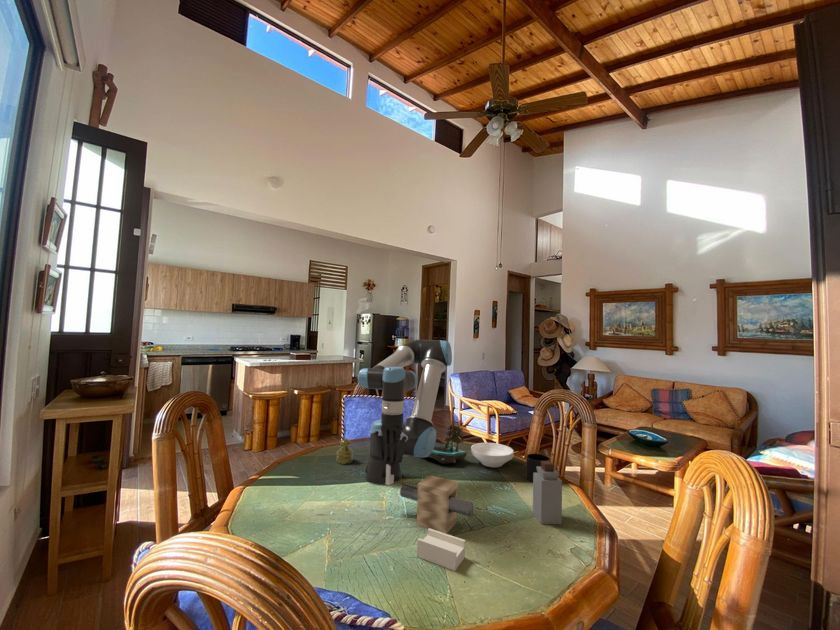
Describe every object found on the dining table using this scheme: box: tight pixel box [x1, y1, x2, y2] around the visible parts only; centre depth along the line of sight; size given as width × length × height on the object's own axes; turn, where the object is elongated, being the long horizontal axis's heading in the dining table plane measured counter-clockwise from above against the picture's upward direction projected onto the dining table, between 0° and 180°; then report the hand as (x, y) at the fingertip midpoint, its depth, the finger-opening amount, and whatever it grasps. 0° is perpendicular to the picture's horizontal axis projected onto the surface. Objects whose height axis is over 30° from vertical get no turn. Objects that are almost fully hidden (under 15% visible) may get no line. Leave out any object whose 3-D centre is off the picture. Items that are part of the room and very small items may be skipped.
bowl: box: [470, 442, 515, 468], centre depth 166 cm, size 20×20×7 cm
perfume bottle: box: [532, 460, 563, 525], centre depth 118 cm, size 7×7×18 cm
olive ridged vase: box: [336, 438, 354, 465], centre depth 164 cm, size 7×7×10 cm
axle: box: [399, 483, 475, 517], centre depth 113 cm, size 24×4×4 cm, turn 61°
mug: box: [525, 453, 551, 483], centre depth 149 cm, size 9×12×9 cm
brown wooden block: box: [416, 474, 459, 534], centre depth 112 cm, size 10×8×12 cm
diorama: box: [427, 422, 467, 465], centre depth 173 cm, size 19×25×19 cm
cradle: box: [416, 528, 466, 572], centre depth 95 cm, size 11×7×4 cm, turn 61°
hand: (389, 483), depth 121 cm, fingers closed
